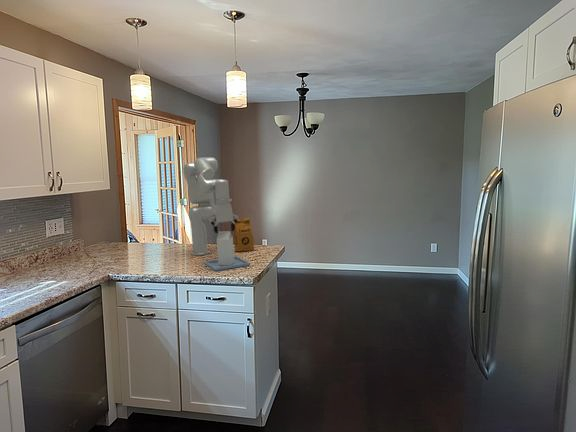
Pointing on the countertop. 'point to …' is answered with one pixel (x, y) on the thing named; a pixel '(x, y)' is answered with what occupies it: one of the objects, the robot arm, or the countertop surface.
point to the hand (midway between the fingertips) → (224, 231)
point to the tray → (237, 264)
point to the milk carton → (225, 248)
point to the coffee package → (243, 235)
